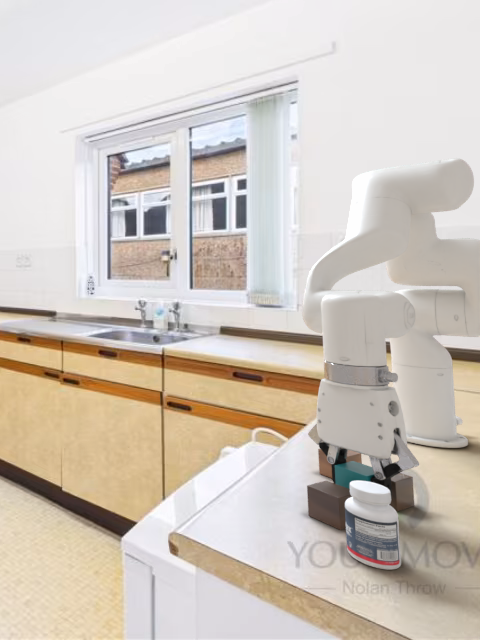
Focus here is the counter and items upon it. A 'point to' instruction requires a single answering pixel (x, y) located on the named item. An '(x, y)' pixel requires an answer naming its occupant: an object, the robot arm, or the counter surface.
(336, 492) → the brown cube
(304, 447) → the counter surface
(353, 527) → the pill bottle
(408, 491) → the taupe block
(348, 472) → the teal toy cube
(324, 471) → the caramel wooden cube
